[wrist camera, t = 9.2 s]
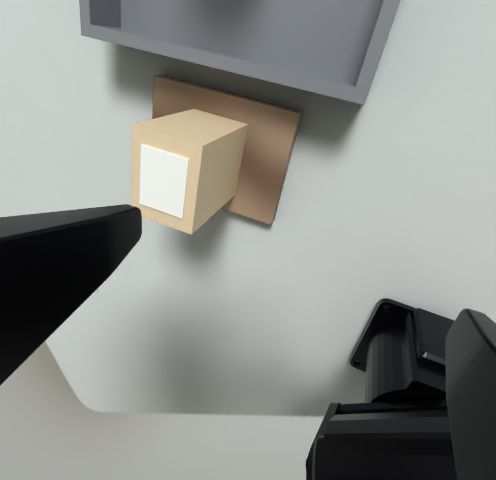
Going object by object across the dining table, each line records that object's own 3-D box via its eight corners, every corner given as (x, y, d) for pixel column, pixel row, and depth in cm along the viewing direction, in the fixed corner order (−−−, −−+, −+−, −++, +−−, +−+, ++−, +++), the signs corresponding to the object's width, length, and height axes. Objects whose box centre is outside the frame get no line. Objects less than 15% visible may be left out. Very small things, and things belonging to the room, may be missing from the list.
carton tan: (234, 194, 22) (190, 235, 17) (186, 178, 22) (129, 213, 17) (248, 124, 19) (201, 146, 14) (193, 108, 20) (130, 124, 15)
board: (274, 220, 22) (270, 224, 22) (156, 181, 24) (149, 184, 24) (302, 111, 19) (299, 113, 18) (161, 75, 21) (154, 75, 20)
